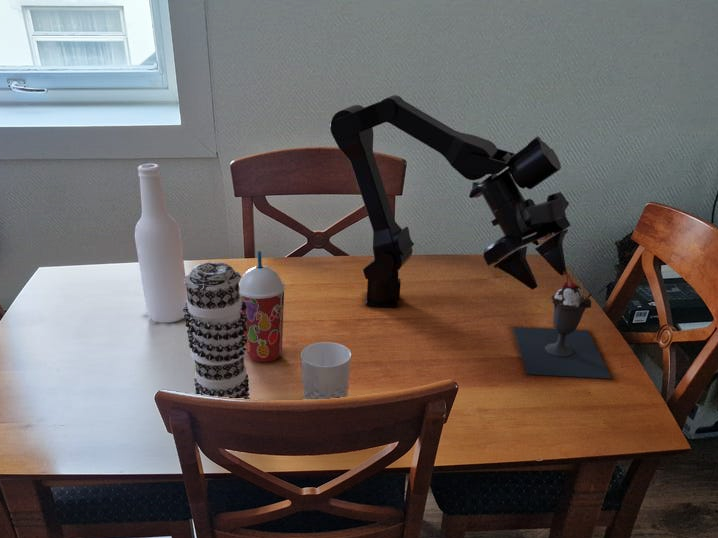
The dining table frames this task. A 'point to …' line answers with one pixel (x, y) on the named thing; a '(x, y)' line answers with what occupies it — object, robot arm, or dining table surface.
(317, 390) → the white cup
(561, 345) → the sundae
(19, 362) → the dining table surface
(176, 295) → the alcohol
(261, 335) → the smoothie
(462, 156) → the robot arm
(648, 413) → the dining table surface
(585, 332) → the dark blue rectangular panel
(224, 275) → the decorative candle
